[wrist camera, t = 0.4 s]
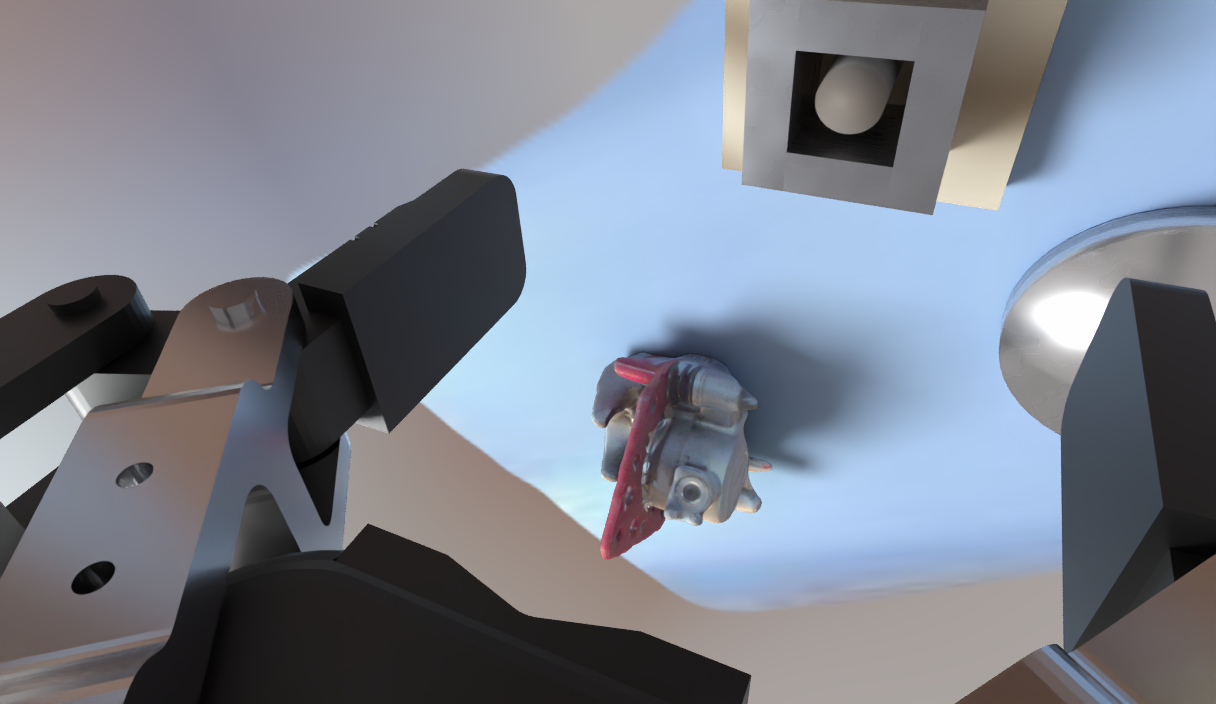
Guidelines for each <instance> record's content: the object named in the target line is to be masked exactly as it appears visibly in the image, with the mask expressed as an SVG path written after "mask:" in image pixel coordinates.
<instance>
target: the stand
mask: <svg viewBox="0 0 1216 704" xmlns="http://www.w3.org/2000/svg"><path fill="white" fill-rule="evenodd" d="M1067 1H1068V0H989V3H988V6H987V10H986V14H985V18H984V22H983V26H982V29H981V33H980V37H979V41H978V45H977V49H976V52H975V56H974V60H973V64H972V68H971V72H970V75H969V79H968V83H967V87H966V91H965V95H964V98H963V102H962V106H961V110H960V114H959V118H958V121H957V125H956V129H955V133H954V137H953V140H952V144H951V148H950V152H949V156H948V159H947V163H946V167H945V171H944V174H943V178H942V182H941V186H940V189H939V193H938V197H937V200H936V201H938V202H945V203H951V204H958V205H964V206H971V207H977V208H984V209H990V210H997V211H998V209H999V206H1000V203H1001V200H1002V197H1003V194H1004V191H1005V188H1006V185H1007V182H1008V179H1009V176H1010V173H1011V170H1012V167H1013V164H1014V161H1015V158H1016V155H1017V152H1018V149H1019V146H1020V143H1021V140H1022V137H1023V134H1024V131H1025V128H1026V125H1027V122H1028V119H1029V116H1030V113H1031V110H1032V107H1033V104H1034V101H1035V98H1036V95H1037V92H1038V89H1039V86H1040V83H1041V80H1042V77H1043V74H1044V71H1045V68H1046V65H1047V62H1048V59H1049V56H1050V53H1051V49H1052V46H1053V43H1054V40H1055V37H1056V34H1057V31H1058V28H1059V25H1060V22H1061V19H1062V16H1063V13H1064V10H1065V7H1066V4H1067ZM749 5H750V0H726V8H725V55H724V102H723V149H722V168H724V169H731V170H737V171H742V167H743V144H744V121H745V98H746V75H747V52H748V28H749ZM914 63H915V61H906V60H895V59H884V58H873V57H862V56H851V55H840V54H829V53H823V54H822V63H821V71H820V80H819V88H818V90H817V93H816V98H815V107H816V111H817V114H818V116H819V118H820V120H821V121H822V122H823V123H824V124H825V125H826V126H827V127H828V128H830V129H831V130H833V131H836V132H838V133H842V134H857V133H861V132H864V131H866V130H868V129H869V128H871V127H872V126H874V125H875V124H876V123H877V121H878V120H879V119H880V117H881V116H882V113H883V111H884V108H885V106H886V104H895V105H904V106H906V102H907V97H908V92H909V87H910V82H911V77H912V72H913V67H914Z"/></svg>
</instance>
